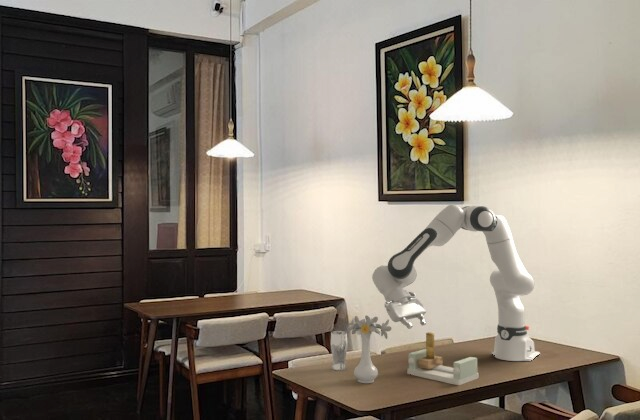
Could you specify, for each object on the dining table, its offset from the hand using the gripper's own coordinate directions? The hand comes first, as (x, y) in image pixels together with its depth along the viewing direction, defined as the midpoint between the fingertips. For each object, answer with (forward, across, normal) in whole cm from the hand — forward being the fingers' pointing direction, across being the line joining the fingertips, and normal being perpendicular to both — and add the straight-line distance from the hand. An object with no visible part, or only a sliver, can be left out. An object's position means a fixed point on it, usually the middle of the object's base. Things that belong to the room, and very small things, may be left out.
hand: (417, 326), depth 264 cm
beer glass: (-5, -20, +31) cm, 37 cm away
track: (+21, 0, +4) cm, 22 cm away
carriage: (+15, 0, +6) cm, 16 cm away
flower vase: (+9, -26, +17) cm, 32 cm away
